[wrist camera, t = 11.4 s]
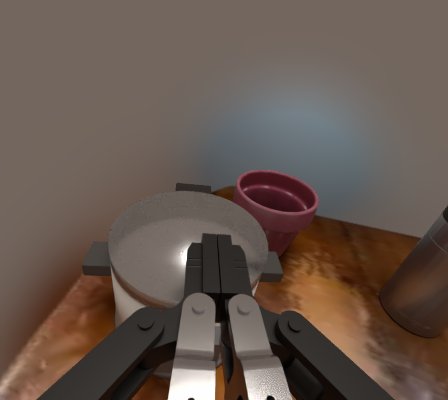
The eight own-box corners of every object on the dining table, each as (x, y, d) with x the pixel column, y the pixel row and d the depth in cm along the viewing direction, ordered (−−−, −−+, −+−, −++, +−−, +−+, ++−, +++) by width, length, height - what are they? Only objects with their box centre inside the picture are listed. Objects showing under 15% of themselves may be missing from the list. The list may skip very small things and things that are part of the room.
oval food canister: (116, 257, 41) (109, 196, 35) (250, 264, 45) (267, 209, 38) (63, 403, 25) (33, 342, 19) (278, 395, 29) (316, 341, 22)
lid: (134, 188, 37) (133, 176, 36) (247, 198, 39) (250, 187, 38) (83, 313, 21) (80, 298, 20) (281, 316, 23) (287, 303, 22)
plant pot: (240, 212, 57) (252, 161, 50) (301, 236, 53) (323, 184, 46) (211, 251, 46) (222, 192, 39) (286, 285, 42) (314, 226, 35)
